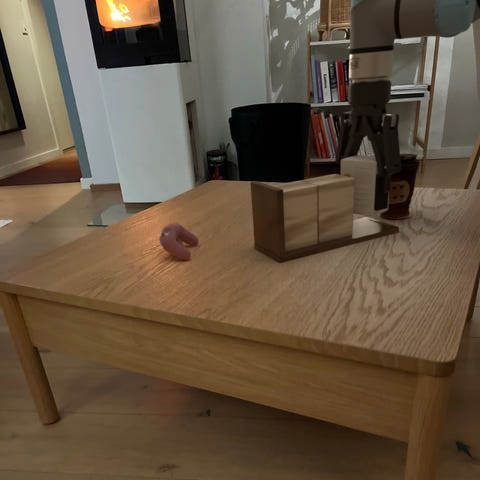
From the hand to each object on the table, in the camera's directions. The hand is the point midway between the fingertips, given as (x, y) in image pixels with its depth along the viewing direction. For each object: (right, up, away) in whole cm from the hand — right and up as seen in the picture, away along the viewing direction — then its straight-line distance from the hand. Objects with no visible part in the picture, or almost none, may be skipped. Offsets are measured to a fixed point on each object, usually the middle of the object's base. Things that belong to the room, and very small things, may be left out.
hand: (364, 204), depth 96 cm
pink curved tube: (-37, -10, 0) cm, 38 cm away
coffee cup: (+9, 0, +10) cm, 14 cm away
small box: (0, -1, +1) cm, 2 cm away
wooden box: (-8, -7, -1) cm, 11 cm away
